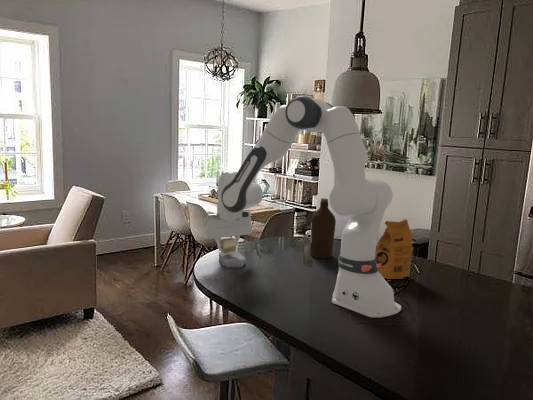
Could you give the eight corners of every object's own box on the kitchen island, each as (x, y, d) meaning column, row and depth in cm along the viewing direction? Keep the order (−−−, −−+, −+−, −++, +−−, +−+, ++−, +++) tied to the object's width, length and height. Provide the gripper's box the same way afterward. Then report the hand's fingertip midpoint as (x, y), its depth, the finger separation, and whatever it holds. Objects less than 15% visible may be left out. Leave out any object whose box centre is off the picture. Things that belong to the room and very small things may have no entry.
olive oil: (336, 254, 193) (340, 198, 189) (328, 260, 183) (332, 202, 179) (314, 250, 198) (317, 196, 193) (305, 256, 188) (308, 199, 184)
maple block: (235, 251, 173) (236, 239, 172) (224, 253, 170) (224, 240, 169) (229, 248, 177) (230, 236, 176) (218, 250, 174) (218, 238, 174)
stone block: (239, 262, 183) (216, 259, 179) (242, 251, 182) (219, 248, 179) (246, 272, 172) (222, 269, 168) (249, 261, 171) (225, 257, 168)
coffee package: (369, 274, 167) (374, 218, 164) (394, 271, 173) (399, 216, 169) (388, 283, 159) (393, 224, 155) (413, 279, 164) (418, 221, 161)
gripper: (207, 216, 163) (206, 252, 165) (254, 212, 174) (253, 246, 176) (200, 213, 168) (199, 248, 170) (246, 209, 179) (245, 242, 181)
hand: (227, 247), depth 173 cm, fingers closed on maple block, 5 cm apart
